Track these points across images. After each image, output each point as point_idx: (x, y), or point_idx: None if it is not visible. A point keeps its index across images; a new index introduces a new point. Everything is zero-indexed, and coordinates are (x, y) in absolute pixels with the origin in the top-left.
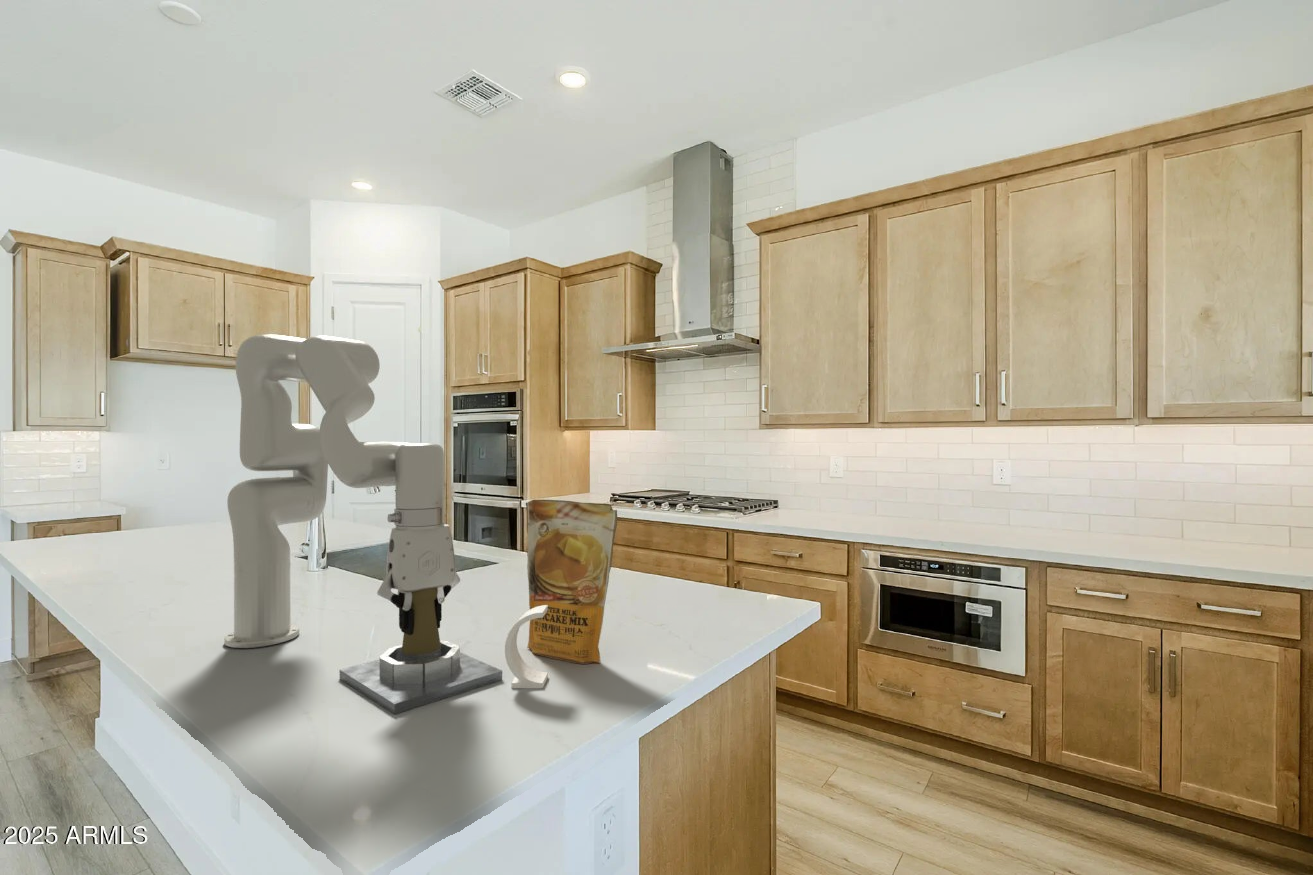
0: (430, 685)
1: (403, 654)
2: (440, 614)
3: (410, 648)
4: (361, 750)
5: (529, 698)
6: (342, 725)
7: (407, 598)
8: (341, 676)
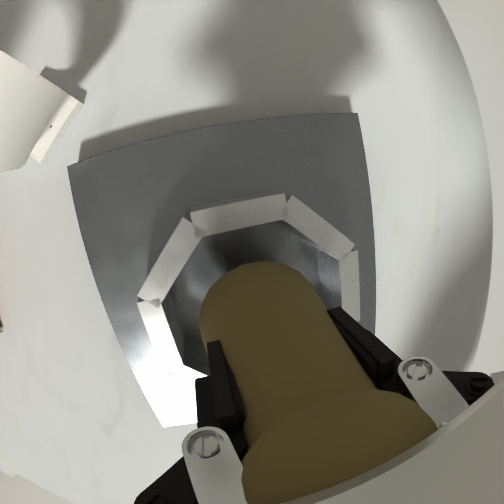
0: (262, 164)
1: None
2: (201, 393)
3: (313, 289)
4: (399, 43)
5: (87, 38)
6: (414, 141)
7: (444, 395)
8: None
